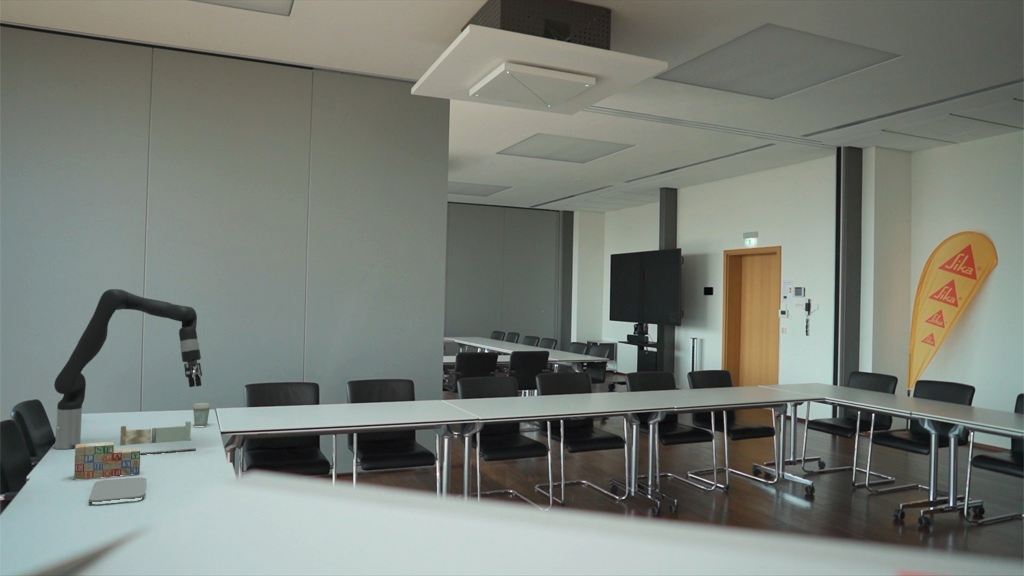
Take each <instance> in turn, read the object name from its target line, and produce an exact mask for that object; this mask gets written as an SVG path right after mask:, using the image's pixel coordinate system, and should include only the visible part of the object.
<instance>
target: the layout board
mask: <svg viewBox="0 0 1024 576" xmlns="http://www.w3.org/2000/svg"><path fill="white" fill-rule="evenodd" d="M196 451H197V449H196V448H190V449H189V448H188V449H187V448H183V449H178V450H177V449H172V450H170V449H169V450H165V451H164V450H160V451H153V452H152V451H148V452H147V451H145V452H140V455H141V456H148V455H147V454H153V455H163V454H162V453H165V454H173V453H174V454H176V452H178V453H186V452H196Z"/></svg>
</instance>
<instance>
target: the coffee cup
mask: <svg viewBox="0 0 1024 576" xmlns="http://www.w3.org/2000/svg"><path fill="white" fill-rule="evenodd" d="M192 408H193V409H192V411H193V423H194V427H195V426H206V425H207V426H208V421H209V414H210V409H211V404H210V402H195V403H193V405H192ZM207 426H206V427H207Z"/></svg>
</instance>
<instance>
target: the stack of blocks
mask: <svg viewBox="0 0 1024 576" xmlns="http://www.w3.org/2000/svg"><path fill="white" fill-rule="evenodd" d="M74 450H75V451H74V473H73V475H74V476H73V480H74V479H75V480H74V481H77V480H76V479H81V480H89V479H90V478H94V479H102V478H101V477H106V478H112V477H111V476H118V477H121V476H120V475H129V476H132V475H131V474H139V475H140V469H141V456H140V454H141V447H135V448H133V447H132V448H130V447H129V448H116V449H115V442H114V441H107V442H105V441H103V442H95V443H94V442H93V443H92V442H91V443H80V444H77V445H75V448H74ZM90 480H91V479H90Z"/></svg>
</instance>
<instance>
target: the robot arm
mask: <svg viewBox="0 0 1024 576" xmlns="http://www.w3.org/2000/svg"><path fill="white" fill-rule="evenodd" d="M121 310H134V311H139V312H142V313H145V314H147V315H150V316H155V317H159V318H163V319H165V318H166V319H170V320H173V321H175V322H181V328H179V331H178V334H179V335H178V336H179V342H180V343H179V346H180V347H179V348H180V354H181V360H182V363H184V364H183V366H184V367H183V368H184V374H185V375H184V376H185V378H187V380H188V386H189V388H193V387H201V386H202V379H201V378H202V377H203V373H202V367H201V363H200V362H198V361H200V360H201V359H202V356H201V350H200V345H199V344H200V343H199V340H198V333H197V325H198V324H197V323H198V321H197V320H198V319H197V318H198V315H197V312H196V310H195V309H194V308H193V307H191V306H186V305H181V304H176V303H175V304H173V303H171V302H168V301H164V300H163V301H162V300H157V299H152V298H147V297H143V296H140V295H135V294H133V293H130V292H129V291H127V290H124V289H119V288H118V289H117V288H110V289H107V290H105V291H104V292H103V293H102V294H101V296H100V298H99V300H98V303H97V305H96V308H95V310H94V313H93V315H92V317H91V318H90V321H89V322H88V323H87V326H86V327H85V330H84V331H83V333H82V335H81V336H80V338H79V340H78V341H77V344H76V346H75V347H74V350H73V351H72V353H71V355H70V357H69V358H68V360H67V362H66V363H65V365H64V366H63V368H62V369H61V371H60V372H59V374H58V375H57V377H56V378H55V379H54V380H55V381H54V385H53V386H54V390H55V391H56V392H57V393H58V394H61V395H63V397H62V398H61V399H60V401H58V402H57V406H56V407H57V408H56V409H57V411H56V414H57V415H56V429H55V446H54V449H55V450H70V449H75V447H76V445H77V444H81V443H82V442H81V439H82V438H81V435H82V412H83V409H82V408H83V404H84V402H85V398H86V389H87V388H86V386H87V381H86V378H85V376H84V374H83V373H82V371H83V370H84V368H85V367H86V366H87V365H88V364H89V363H90V362H91V361H92V360H93V359H94V358H95V357H96V356H97V355H98V354H99V352H100V351H101V350H102V348H103V347H104V344H105V342H106V340H107V337H108V329H109V323H110V320H111V319H112V317H113V316H114V314H115V313H116V311H121Z"/></svg>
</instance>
